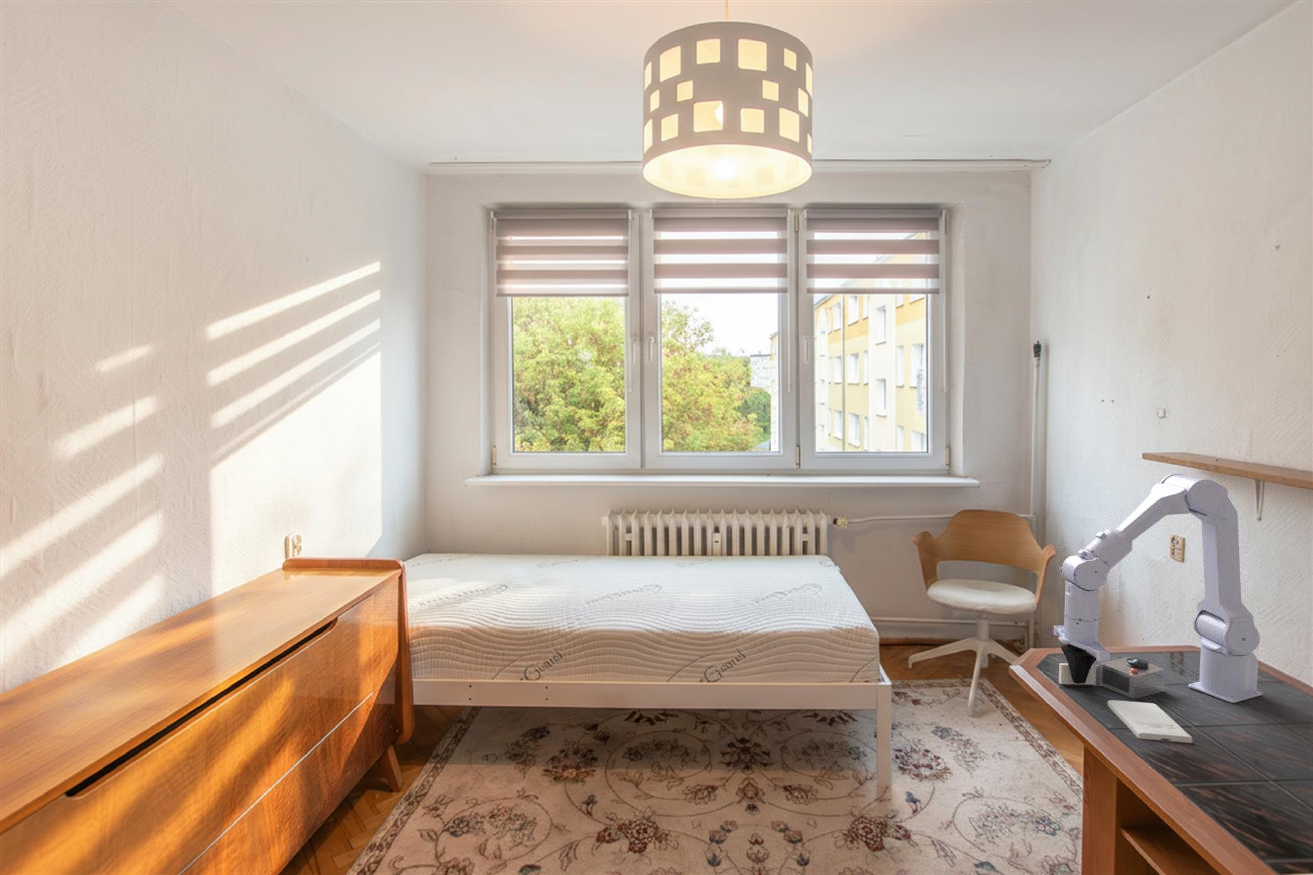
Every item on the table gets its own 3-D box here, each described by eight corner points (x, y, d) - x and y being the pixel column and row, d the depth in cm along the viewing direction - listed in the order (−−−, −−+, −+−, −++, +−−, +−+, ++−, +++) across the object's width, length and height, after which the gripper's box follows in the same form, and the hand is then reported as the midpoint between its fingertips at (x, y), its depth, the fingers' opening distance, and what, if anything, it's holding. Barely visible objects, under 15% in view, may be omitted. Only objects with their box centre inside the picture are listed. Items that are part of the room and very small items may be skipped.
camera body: (1129, 677, 141) (1130, 650, 141) (1164, 691, 135) (1165, 663, 134) (1098, 684, 138) (1099, 657, 138) (1133, 699, 132) (1134, 670, 131)
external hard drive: (1155, 711, 128) (1192, 745, 116) (1107, 707, 129) (1138, 740, 117) (1156, 703, 127) (1193, 736, 115) (1107, 699, 129) (1138, 731, 117)
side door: (1100, 685, 137) (1101, 666, 137) (1062, 684, 138) (1062, 665, 137) (1097, 682, 139) (1097, 663, 138) (1058, 682, 139) (1059, 663, 139)
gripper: (1040, 605, 143) (1038, 668, 144) (1084, 629, 128) (1082, 699, 129) (1073, 604, 143) (1071, 667, 144) (1121, 629, 128) (1119, 698, 129)
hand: (1078, 682), depth 137 cm, fingers closed
